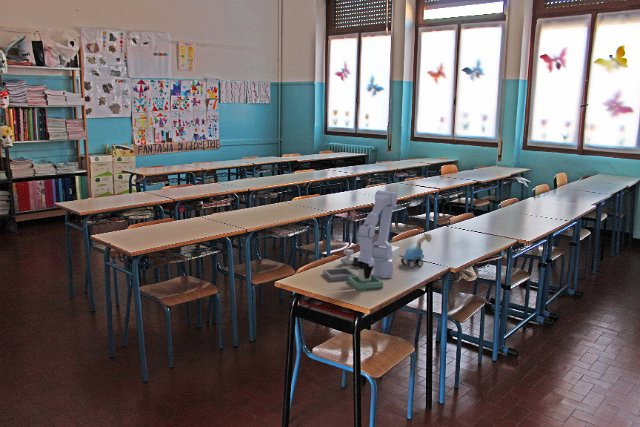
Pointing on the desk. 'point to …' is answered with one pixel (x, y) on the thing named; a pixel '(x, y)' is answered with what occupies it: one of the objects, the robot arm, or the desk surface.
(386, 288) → the desk surface
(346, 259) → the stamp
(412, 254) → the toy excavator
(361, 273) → the light gray block
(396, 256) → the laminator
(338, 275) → the bin
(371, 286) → the bin
